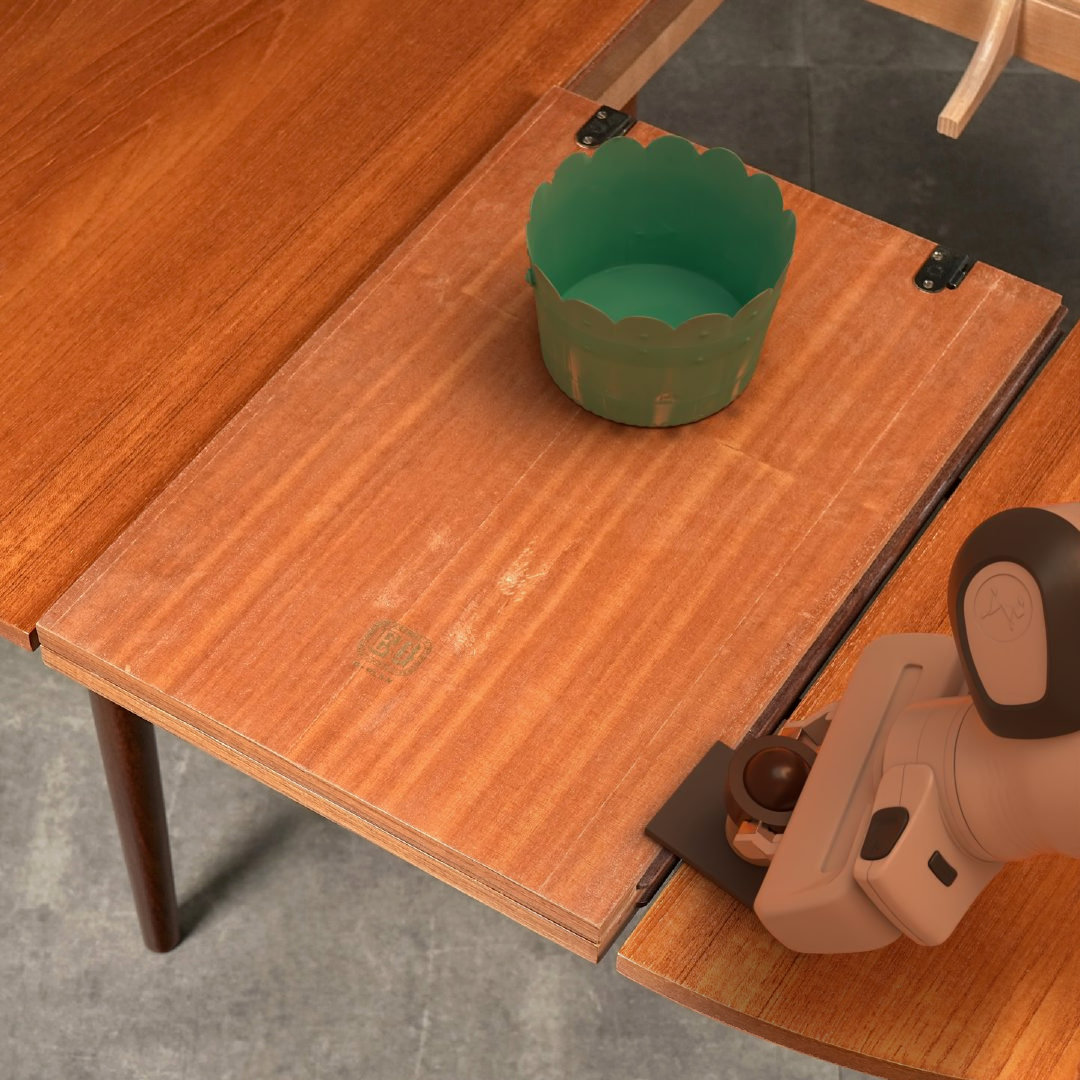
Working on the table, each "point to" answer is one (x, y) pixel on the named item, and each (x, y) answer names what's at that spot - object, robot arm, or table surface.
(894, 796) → the robot arm
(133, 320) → the table surface
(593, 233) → the basket
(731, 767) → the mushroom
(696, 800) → the front mat
